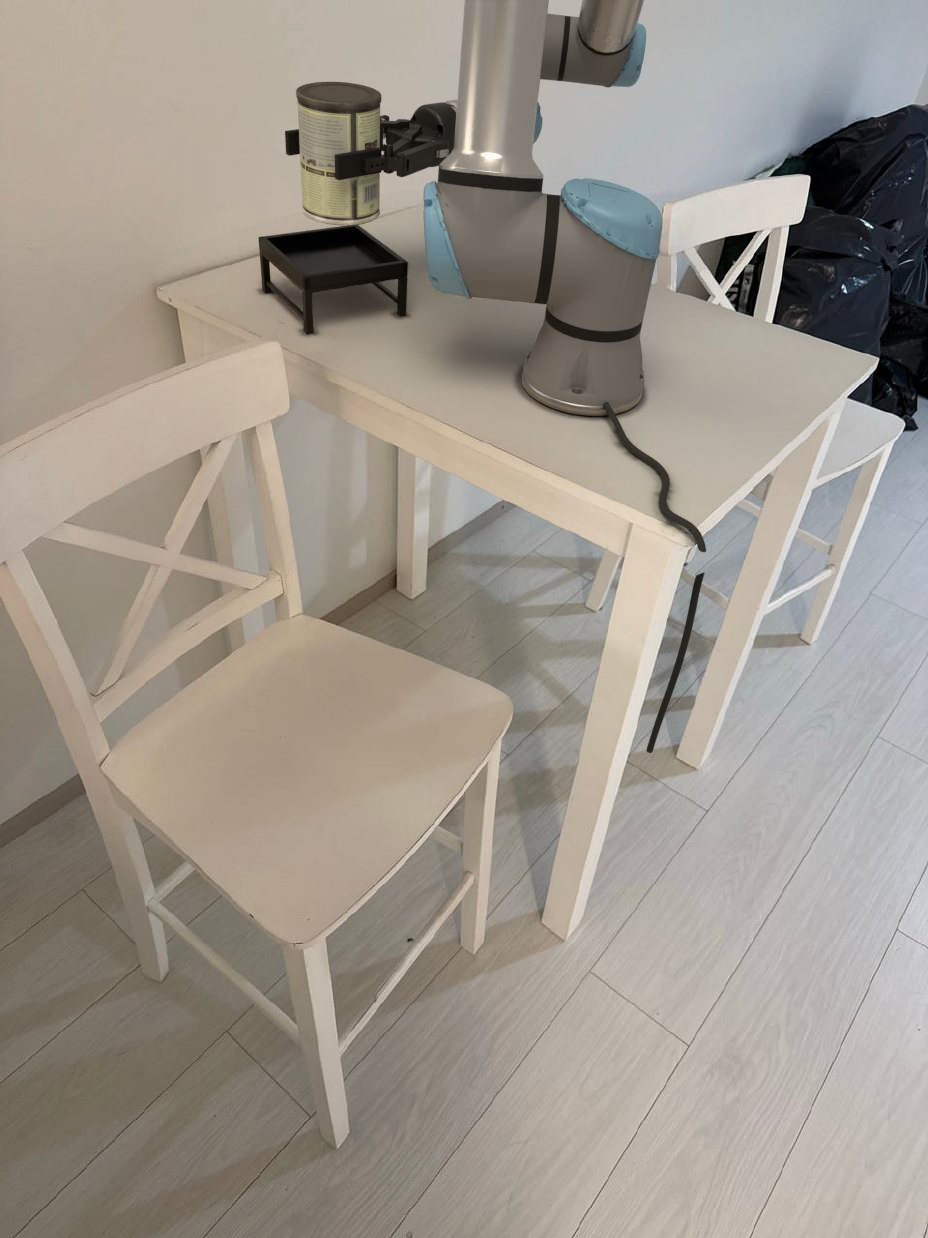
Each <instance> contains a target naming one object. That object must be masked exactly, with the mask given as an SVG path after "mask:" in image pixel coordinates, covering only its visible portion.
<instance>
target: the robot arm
mask: <svg viewBox="0 0 928 1238" xmlns="http://www.w3.org/2000/svg"><path fill="white" fill-rule="evenodd" d="M549 2H550V0H464V3H463V5H464V6H463V19H462V30H461V31H462V33H461V44H460V45H461V46H460V59H459V60H460V61H459V73H458V87H457V99H452V100H446V101H443V102H441V101H440V102H434V103H426V104H422V105H420V106H418V107H417V108H416V109H415V110H414V113H413V114H412V116H411V118H410V119H406V118H397V119H396V120H390V116H389V115H387V114H382V115H380V148H372V149H366V150H360V151H353V152H347V153H341V154H335V179H337V180H343V179H349V178H354V177H360V176H365V175H371V174H376V173H380V174H382V171H383V173H385V174H388V175H390V174H393V173H395V172H396V177H399V178H405V177H408V176H410V175H413V174H415V173H418V172H421V171H423V170H426V169H429V168H436V167H438V171H437V172H438V173H437V174H438V175H437V181H436V180H431V181H430V182H427V183H426V184H425V185H424V187H423V234H424V250H425V259H426V260H425V261H426V267H427V268H426V269H427V274H428V280H429V283H430V284H431V286H432V287H433V289H435V291H437V292H439V293H441V294H443V295H444V294H445V295H451V296H457V297H464V298H466V299H467V300H472V299H473V298H476V299H485V300H496V301H507V302H518V303H526V304H539V305H546V306H545V314H544V319H543V323H542V325H541V327H540V329H539V331H538V333H537V336H536V338H535V341H534V344H533V346H532V349H531V350H530V351H529V352H528V354H527V355H526V357H525V359H524V361H523V362H524V363H523V366H522V370H521V371H522V372H521V384H522V387H523V389H524V390H525V391H526V393H527V394H528V395H529V396H531V397H532V398H533V399H534V400H536V401H537V402H539V403H541V404H543V405H545V406H547V407H549V408H551V409H555V410H557V411H561V412H564V413H568V414H573V415H579V416H588V417H589V416H592V417H602V416H607V417H609V419H610V421H611V423H612V425H613V427H614V429H615V431H616V433H617V435H618V438H619V439H620V442H622V444H623V446H625V448H627V450H628V451H630V453H632V454H633V455H634V456H635V457H637V458H639V459H640V460H642V461H643V462H645V463H646V464H648V465H649V466H651V468H654V469H655V470H656V472H658V474H659V475H660V477H661V481H662V484H661V489H660V492H659V498H658V503H659V508H660V510H661V511H662V513H663V514H664V516H665V517H666V518H667V519H669V520H670V521H672V522H673V523H675V524H677V525H678V526H681V527H682V528H684V529H686V530H687V531H688V532H690V534H691V535H692V536H693V538H694V541H695V542H696V545H697V549H698V551H700V552H701V553H706V552H707V546H706V542H705V539H704V536H703V534H702V533H701V532H700V529H698V527H697V526H696V525H695V524H694V523H692V522H691V521H689V520H688V519H686V518H684V517H682V516H680V515H679V514H677V513H675V512H674V511H672V510H671V508H670V507H669V505H668V502H667V498H668V497H667V496H668V493H669V489H670V483H671V480H670V475H669V474H668V472H667V470H666V468H665V467H664V466H663V465H662V464H661V463H660V462H659V461H658V460H656V459H655V458H653V457H652V456H650V455H649V454H647V453H645V452H644V451H643V450H641V449H640V448H638V447H637V446H636V445H635V444H634V443H633V442H631V440H630V439H629V438H628V436H627V435H626V433H625V430H624V428H623V425H622V424H621V422H620V420H619V419H618V416H617V414H621V413H624V412H627V411H629V410H631V409H634V407H635V406H637V405H638V403H640V401H641V399H642V395H643V392H644V387H645V373H644V372H645V371H644V369H643V353H642V352H643V351H642V344H641V331H642V327H643V322H644V319H645V313H646V308H647V304H648V299H649V294H650V291H651V285H652V281H653V277H654V273H655V267H656V262H657V259H658V258H659V257H660V252H661V251H660V250H661V249H660V246H661V239H662V232H663V224H664V223H663V220H664V219H663V215H662V213H661V210H660V209H659V207H658V206H657V205H656V203H654V202H653V201H652V200H651V199H649V198H648V197H647V196H645V195H643V194H641V193H640V192H638V191H636V190H634V189H631V188H629V187H626V186H624V185H620V184H618V183H615V182H610V181H606V180H603V179H596V178H587V177H585V178H582V179H581V178H572V179H569V180H567V181H566V182H565V183H564V185H563V187H562V188H561V190H560V194H552V193H551V194H550V193H544V192H543V183H544V173H543V172H542V170H541V169H540V168H539V166H538V164H537V163H536V162H535V160H534V157H533V151H534V149H533V148H534V144H535V143H537V140H538V139H539V138H540V135H541V132H542V130H543V129H542V128H543V116H542V113H541V105H540V103H539V93H540V84H541V80H543V81H544V80H545V81H555V82H565V83H566V82H567V83H574V84H581V85H590V86H591V85H592V86H599V87H604V88H611V87H615V88H616V87H617V88H619V87H620V88H630V87H633V86H634V85H636V83H637V82H638V81H639V78H640V77H641V72H642V67H643V64H644V59H645V54H646V46H647V29H646V27H645V25H644V24H642V23H639V20H640V16H641V13H642V10H643V6H644V3H645V0H581V6H580V11H579V16H572V15H564V14H554V13H548V11H549ZM384 140H385V143H384ZM284 142H285V154H286V156H289V157H291V156H297V155H300V144H299V128H295V129H290V130H288V129H287V130H284ZM382 153H383V154H382ZM704 578H705V571H704V572H701V573H699V574H696V575H695V577H694V581H693V585H692V590H691V594H690V599H689V605H688V611H687V615H686V619H685V624H684V628H683V633H682V636H681V637H682V638H681V640H680V645H679V648H678V652H677V655H676V659H675V661H674V666H673V669H672V671H671V675H670V678H669V681H668V684H667V686H666V689H665V692H664V694H663V697H662V701H661V704H660V706H659V709H658V713H657V715H656V718H655V721H654V723H653V727H652V730H651V733H650V736H649V740H648V742H647V746H646V750H645V751H646V752H647V753H648V754H652V753H653V752H654V749H655V746H656V743H657V739H658V736H659V732H660V730H661V727H662V725H663V722H664V719H665V715H666V713H667V710H668V707H669V704H670V701H671V699H672V696H673V693H674V690H675V688H676V685H677V681H678V679H679V676H680V673H681V670H682V667H683V663H684V660H685V657H686V654H687V650H688V646H689V643H690V638H691V635H692V631H693V627H694V622H695V617H696V612H697V607H698V603H699V597H700V593H701V589H702V585H703V581H704Z"/></svg>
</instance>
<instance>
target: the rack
mask: <svg viewBox="0 0 928 1238" xmlns="http://www.w3.org/2000/svg"><path fill="white" fill-rule="evenodd" d="M258 250H259V251H258V252H259V261H260V262H259V264H260V276H261V290H262V292H263V293H264V294H270V293H272V291H273V292H274V294H275V295H276V296H277V297H278V298H280V300H282V301H283V303H285V304H286V306H288V307H289V308H290V309H291V310H292V311H293V312H294V313H295V314H296V315H297V316H298V317H299V318H300V319H301V320H302V322H303V323H302V324H303V332H304V333H305V334H306V335H310V334H314V309H313V308H314V306H313V294H315V293H322V292H327V291H333V290H340V289H345V288H352V287H357V286H358V287H359V286H364V285H373V286H374V287H375V288H376V289H377V290H379V291H380V292H381V293H383V294H384V295H385V296H387V297H388V298H389V299H390V300H391V301H392V302H394V303H395V304H396V315H397V316H398V317H399V318H401V317H403V318H404V317H407V304H408V303H407V302H408V300H407V299H408V277H409V276H408V274H409V261H408V260H406V259H404V258H403V257H402V256H401V255H400V254H398V253H396V252H395V251H394V250H393V249H391V248H390V247H388V246H387V245H386V244H384V243H383V242H382V241H381V240H380V239H379V238H377V237H375V236H374V235H373V234H371V233H369V231H367V230H366V229H364V228H363V227H362V226H360V225H339V226H333V227H325V228H318V229H311V230H309V229H308V230H303V231H295V232H287V233H280V234H279V233H278V234H271V235H264V236H258ZM270 263H271V264H272V266H274V267H275V268H276V269H277V270H278V271H279V272H280V273H282V275H283V276H285V277H286V278H287V279H288V280H289V281H290V282H291V283H292V284H293V285H295V286H296V287H297V289H299V290H300V291H301V297H302V299H301V300H302V309H301V308H300V307H299V306H298V305H297V304H296V303H294V301H292V300H291V299H290V298H289V296H287V295H286V294H285V293H284V292H283V291H282V290H281V289H280V288H279V287H278V286H277V285H276V284H275V283H274V282H272V281H271V280H272V279H271V265H270ZM396 280H397V293H396V294H397V295H396V294H395V293H394V292H393V291H391V290H390V289H388V287H386V286H385V285H384V284H383V283H382V282H388V281H396Z"/></svg>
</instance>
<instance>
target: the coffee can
mask: <svg viewBox="0 0 928 1238" xmlns="http://www.w3.org/2000/svg"><path fill="white" fill-rule="evenodd" d="M295 96H296V100H297V101H296V102H297V119H298V122H297V123H298V129H299V144H300V154H299V158H300V159H299V162H300V180H301V181H300V182H301V184H300V185H301V201H302V202H301V205H302V207H301V212H302V214H303V215H304V216H306V218H308V219H310V220H312V221H315V222H317V223H321V224H325V225H326V224H327V225H330V226H331V225H332V226H347V225H359V226H360V225H365V224H369V223H371V222H373V221H375V220H376V219H378V218H379V217H380V215H381V210H380V194H381V193H380V190H381V189H380V187H381V186H380V185H381V184H380V183H381V182H380V181H381V180H380V177H381V173H376V174H371V175H365V176H360V177H354V178H349V179H343V180H337V179H335V154H341V153H347V152H353V151H360V150H366V149H372V148H380V116H381V103H382V93H381V92H380V91H379V90H377V89H376V88H373V87H371V86H369V85H368V86H367V85H364V84H359V83H354V82H345V81H316V82H309V83H306V84H302V85H300V86H298V87H297V88H296V90H295Z"/></svg>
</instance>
